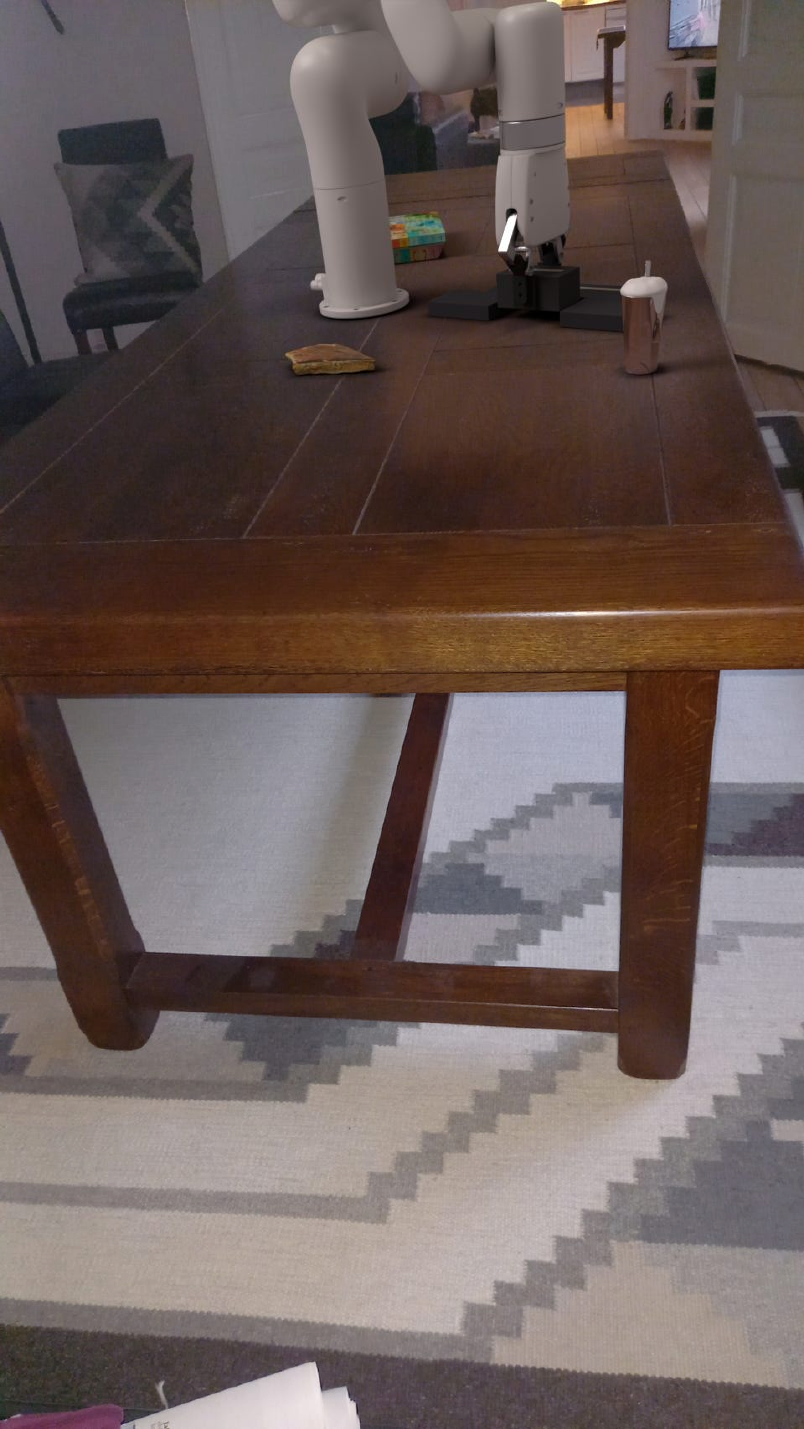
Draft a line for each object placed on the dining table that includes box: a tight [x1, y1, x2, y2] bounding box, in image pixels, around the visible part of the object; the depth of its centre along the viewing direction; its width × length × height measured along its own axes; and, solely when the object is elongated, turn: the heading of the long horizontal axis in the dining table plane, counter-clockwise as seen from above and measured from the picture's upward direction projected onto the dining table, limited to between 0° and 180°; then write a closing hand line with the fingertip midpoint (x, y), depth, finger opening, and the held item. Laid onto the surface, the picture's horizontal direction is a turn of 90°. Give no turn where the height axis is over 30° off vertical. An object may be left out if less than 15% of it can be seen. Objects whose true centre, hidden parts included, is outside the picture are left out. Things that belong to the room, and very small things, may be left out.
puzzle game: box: [389, 211, 447, 265], centre depth 165 cm, size 12×5×20 cm
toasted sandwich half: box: [285, 342, 377, 376], centre depth 115 cm, size 11×8×2 cm
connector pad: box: [495, 264, 581, 313], centre depth 122 cm, size 9×5×4 cm, turn 52°
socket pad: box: [427, 283, 623, 333], centre depth 125 cm, size 30×12×2 cm, turn 52°
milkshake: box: [620, 260, 668, 376], centre depth 100 cm, size 4×5×10 cm
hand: (538, 301), depth 123 cm, fingers closed on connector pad, 5 cm apart
